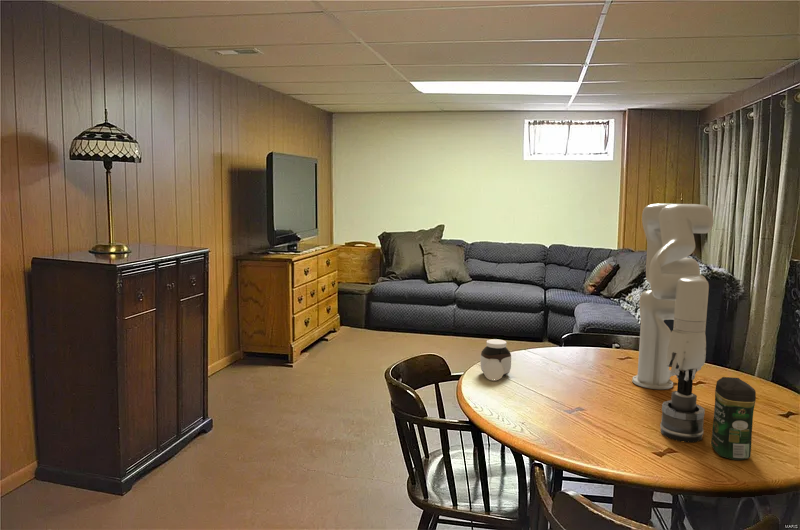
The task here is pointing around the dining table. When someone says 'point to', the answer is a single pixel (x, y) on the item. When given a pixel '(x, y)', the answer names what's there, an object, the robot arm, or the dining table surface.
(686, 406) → the dark grey short cylinder
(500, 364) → the spread jar
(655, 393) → the dining table surface
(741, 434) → the coffee jar
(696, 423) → the lens barrel
